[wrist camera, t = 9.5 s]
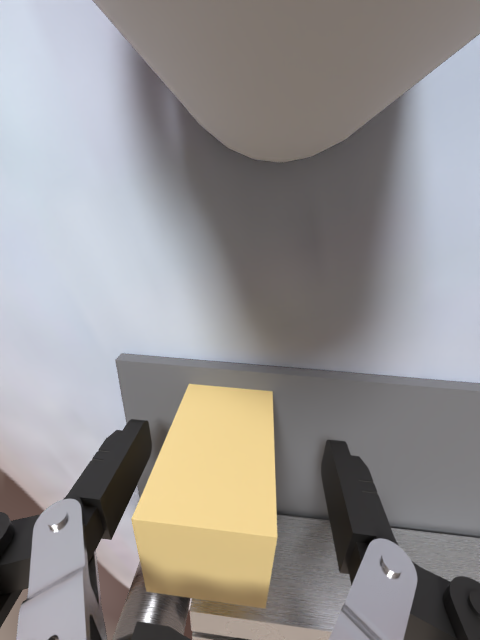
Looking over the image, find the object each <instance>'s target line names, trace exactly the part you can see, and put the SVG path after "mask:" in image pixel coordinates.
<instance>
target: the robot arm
mask: <svg viewBox="0 0 480 640" xmlns="http://www.w3.org/2000/svg"><path fill="white" fill-rule="evenodd" d="M151 450H152V441H151V434H150V427H149V422H148V421H147V420H137V419H131V420H129V421H128V423H127V424H126V426H125V428H124V429H123V431H121V430H116V431H115V432H114V433H113V434H111V435H110V436H109V437H108V438H106V440H105V441H104V443H103V444H102V445H101V447H100V448H99V451H98V452H97V453H96V454H95V456H94V457H93V459H92V461H90V463H89V464H88V466H87V467H86V469H85V470H84V471H83V473H82V474H81V476H80V477H79V479H78V480H77V482H76V483H75V484H74V486H73V487H72V489H71V490H70V492H69V493H68V495H67V496H66V497H65V498H64V499H63V500H60V501H58V502H56V503H54V504H52V505H51V506H49V507H48V508H47V509H46V510H45V511H44V512H43V513H42V514H40V515H36V516H32V517H27V518H22V519H18V520H13V521H10V519H9V517H8V516H7V515H6V514H5V513H2V512H0V627H1V626H2V624H3V622H4V621H5V619H6V617H7V615H8V614H9V612H10V610H11V609H12V607H13V605H14V604H15V602H16V600H17V599H18V597H19V595H20V593H21V592H22V590H23V589H27V588H29V589H28V596H27V599H26V600H25V601H23V603H22V604H21V607H20V611H19V618H18V628H17V638H16V640H107V635H106V628H105V623H104V618H103V613H102V607H101V597H100V588H99V577H98V567H97V557H96V548H97V546H98V544H99V542H100V540H101V538H102V539H109V540H111V539H112V537H113V535H114V533H115V531H116V528H117V526H118V524H119V522H120V520H121V518H122V516H123V514H124V511H125V509H126V507H127V505H128V503H129V501H130V499H131V496H132V494H133V492H134V490H135V488H136V486H137V484H138V482H139V479H140V477H141V475H142V473H143V471H144V469H145V467H146V465H147V462H148V460H149V458H150V455H151ZM321 477H322V483H323V489H324V494H325V499H326V504H327V510H328V515H329V520H330V525H331V531H332V536H333V541H334V546H335V552H336V557H337V562H338V567H339V573H344V574H349V576H350V581H351V588H350V591H349V593H348V595H347V598H346V600H345V603H344V605H343V607H342V609H341V611H340V614H339V616H338V619H337V621H336V623H335V626H334V628H333V630H332V633H331V635H330V638H329V640H480V583H479V582H477V581H475V580H473V579H471V578H468V577H464V576H458V577H455V578H454V579H453V580H452V581H451V582H450V581H448V580H446V579H444V578H442V577H440V576H438V575H435V574H433V573H431V572H429V571H427V570H425V569H423V568H421V567H420V566H418V565H417V564H415V563H414V562H413V561H412V560H411V559H410V558H409V556H408V555H407V554H406V552H405V551H404V550H403V549H402V548H400V547H399V545H398V543H397V542H396V540H395V537H394V535H393V532H392V529H391V527H390V524H389V521H388V519H387V516H386V513H385V511H384V508H383V505H382V503H381V500H380V497H379V495H378V494H377V489H376V487H375V484H374V483H373V479H372V476H371V473H370V471H369V468H368V467H367V465H366V464H365V463H364V462H363V460H362V459H361V458H360V457H359V456H353V455H351V454H350V451H349V448H348V445H347V443H346V442H345V441H338V440H327V441H326V445H325V450H324V454H323V459H322V463H321ZM117 640H190V639H189V638H187V637H185V636H184V635H182V634H181V633H179V632H177V631H176V630H174V629H172V628H171V627H169V626H164V625H158V624H151V623H145V622H139V621H137V623H136V626H135V629H134V632H133V633H131V634H128V635H125V636H123V637H120V638H118V639H117ZM229 640H250V639H243V638H234V639H229Z"/></svg>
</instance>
